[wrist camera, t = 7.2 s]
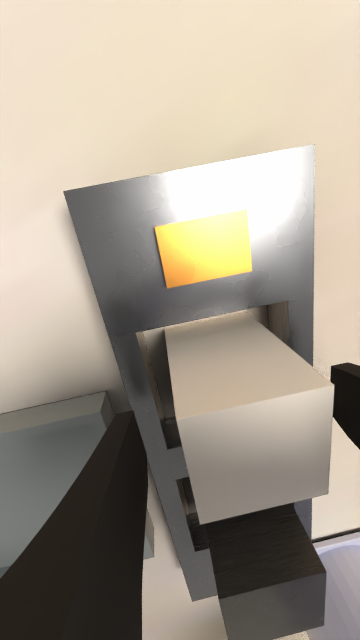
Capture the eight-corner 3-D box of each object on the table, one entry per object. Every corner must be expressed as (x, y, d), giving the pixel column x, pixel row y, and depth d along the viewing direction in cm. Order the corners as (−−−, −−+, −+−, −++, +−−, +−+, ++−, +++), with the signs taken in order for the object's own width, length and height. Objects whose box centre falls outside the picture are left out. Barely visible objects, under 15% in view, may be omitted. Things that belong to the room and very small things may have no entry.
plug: (252, 381, 13) (328, 493, 7) (179, 397, 13) (200, 524, 7) (246, 311, 12) (334, 385, 6) (164, 328, 12) (176, 420, 6)
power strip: (294, 535, 18) (359, 673, 12) (188, 562, 18) (204, 716, 12) (283, 161, 10) (466, 62, 4) (81, 199, 9) (-26, 149, 4)
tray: (154, 528, 16) (154, 556, 15) (-16, 569, 16) (-32, 603, 14) (105, 391, 12) (100, 411, 11) (-120, 440, 12) (-157, 468, 10)
